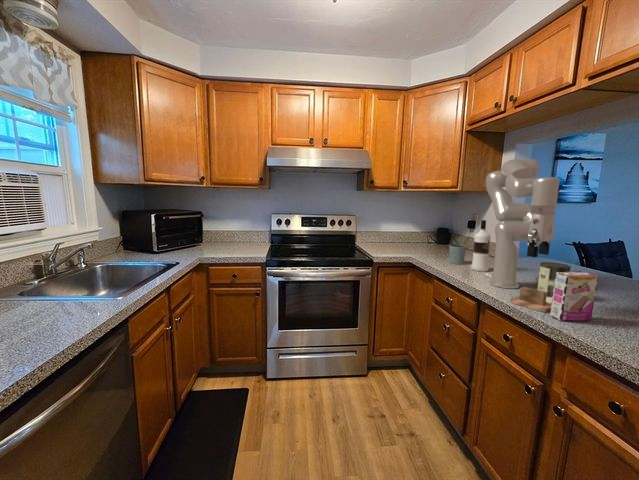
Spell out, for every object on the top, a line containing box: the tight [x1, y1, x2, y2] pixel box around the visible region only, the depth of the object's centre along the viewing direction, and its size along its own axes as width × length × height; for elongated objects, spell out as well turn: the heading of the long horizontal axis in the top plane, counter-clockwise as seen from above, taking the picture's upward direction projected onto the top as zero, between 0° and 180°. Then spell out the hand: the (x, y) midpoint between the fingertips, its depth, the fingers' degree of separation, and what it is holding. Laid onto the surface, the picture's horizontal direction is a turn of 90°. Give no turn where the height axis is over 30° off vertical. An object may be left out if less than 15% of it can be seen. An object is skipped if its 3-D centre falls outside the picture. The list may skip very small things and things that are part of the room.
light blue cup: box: [448, 243, 467, 266], centre depth 186 cm, size 10×10×12 cm
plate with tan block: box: [510, 286, 551, 313], centre depth 111 cm, size 12×7×6 cm, turn 31°
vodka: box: [470, 219, 492, 273], centre depth 167 cm, size 9×9×30 cm
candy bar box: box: [549, 271, 599, 322], centre depth 99 cm, size 11×5×16 cm, turn 92°
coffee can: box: [536, 261, 572, 298], centre depth 123 cm, size 10×10×14 cm
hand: (537, 255), depth 109 cm, fingers open, 9 cm apart
